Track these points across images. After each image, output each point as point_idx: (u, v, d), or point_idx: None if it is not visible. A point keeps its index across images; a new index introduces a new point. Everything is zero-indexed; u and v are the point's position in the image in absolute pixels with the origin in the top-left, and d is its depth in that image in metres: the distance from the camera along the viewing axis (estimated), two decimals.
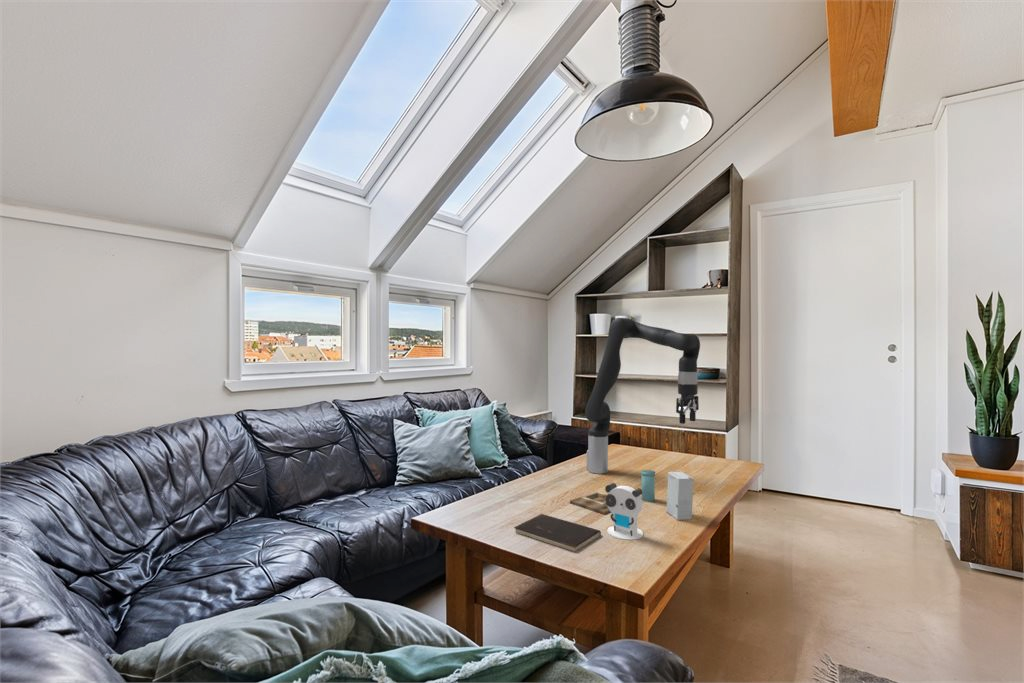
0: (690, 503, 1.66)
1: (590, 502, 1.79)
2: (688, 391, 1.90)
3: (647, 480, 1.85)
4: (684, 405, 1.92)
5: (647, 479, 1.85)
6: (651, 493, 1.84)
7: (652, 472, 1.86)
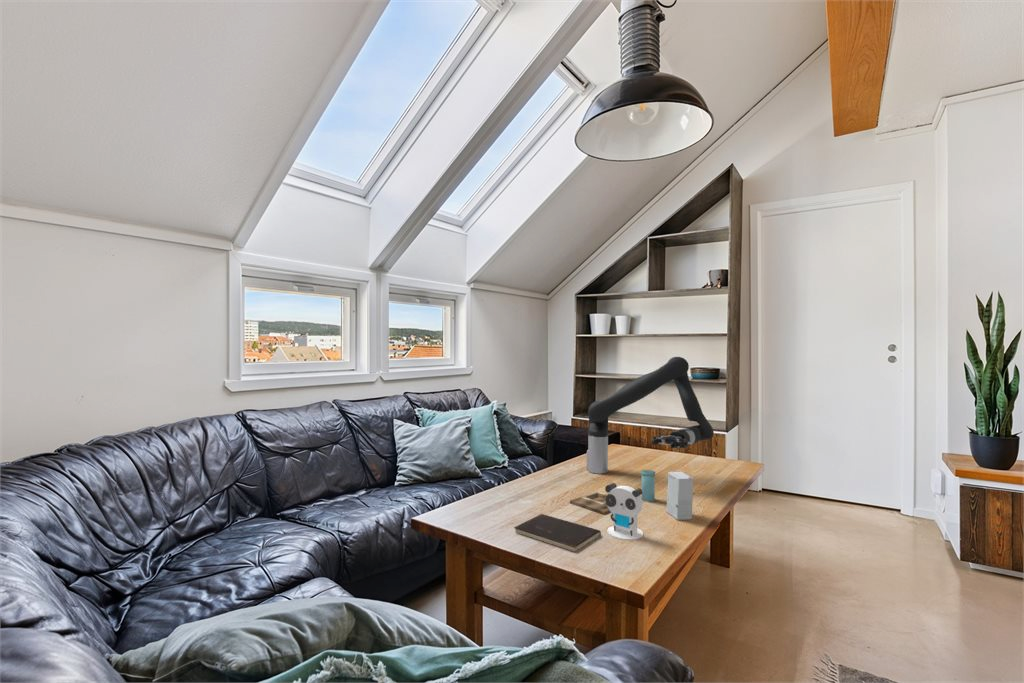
0: (690, 503, 1.66)
1: (590, 502, 1.79)
2: None
3: (647, 480, 1.85)
4: None
5: (647, 479, 1.85)
6: (651, 493, 1.84)
7: (652, 472, 1.86)
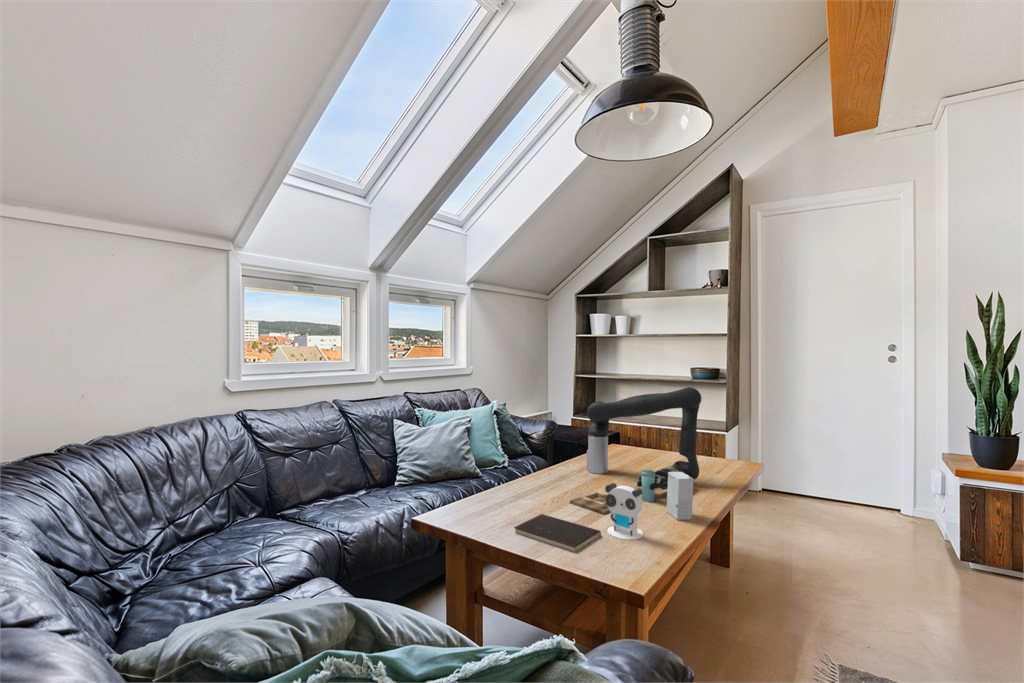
0: (690, 503, 1.66)
1: (590, 502, 1.79)
2: None
3: (647, 480, 1.85)
4: None
5: (647, 479, 1.85)
6: (651, 493, 1.84)
7: (652, 472, 1.86)
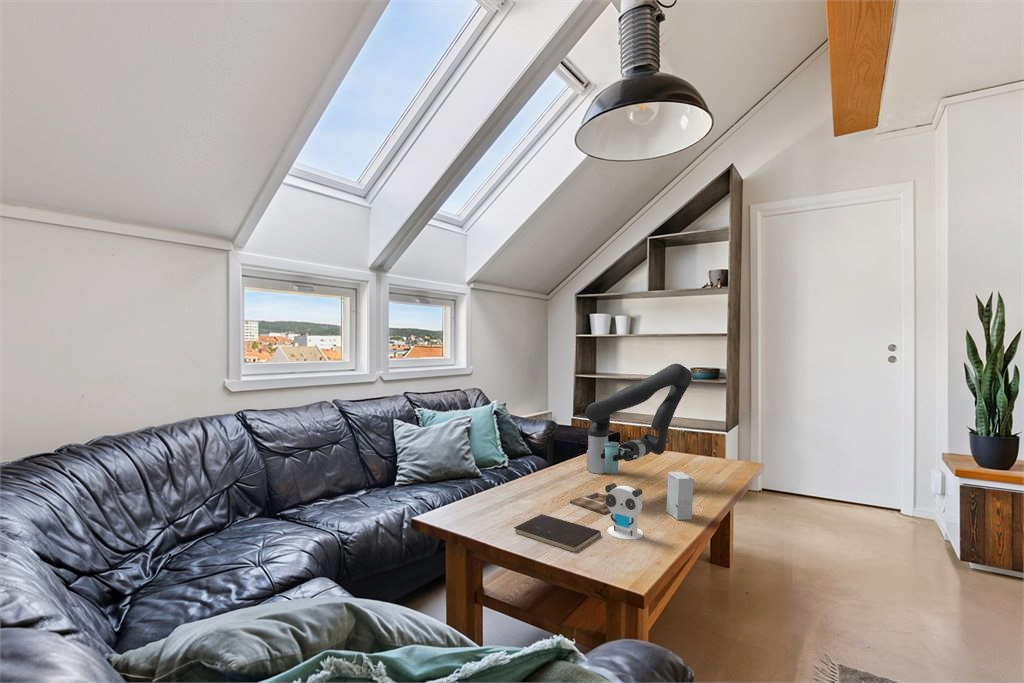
0: (690, 503, 1.66)
1: (590, 502, 1.79)
2: None
3: (610, 451, 1.81)
4: (623, 455, 1.85)
5: (610, 451, 1.81)
6: (614, 464, 1.80)
7: (615, 443, 1.82)
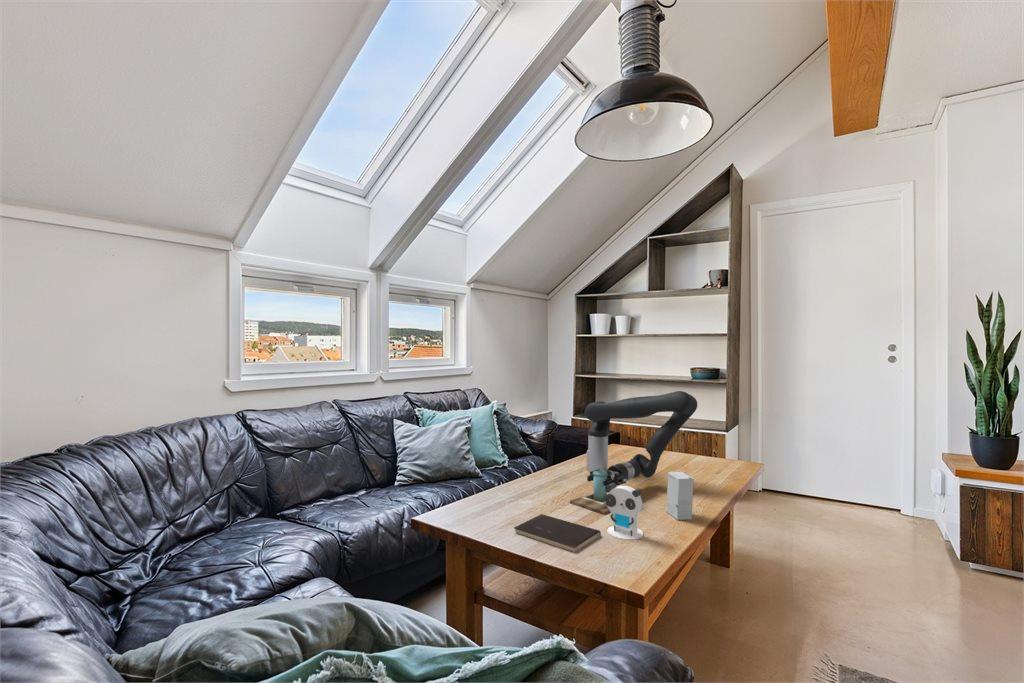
0: (690, 503, 1.66)
1: (590, 502, 1.79)
2: None
3: (598, 481, 1.80)
4: None
5: (598, 480, 1.80)
6: (602, 494, 1.80)
7: (604, 473, 1.81)
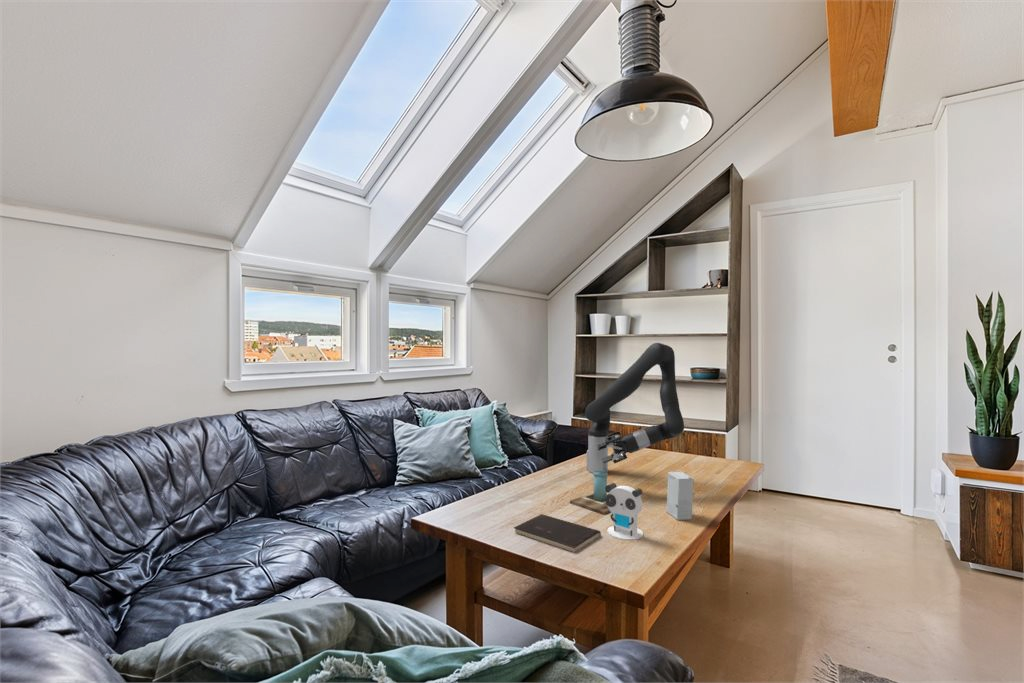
0: (690, 503, 1.66)
1: (590, 502, 1.79)
2: (629, 442, 1.93)
3: (598, 481, 1.80)
4: (614, 444, 1.95)
5: (598, 480, 1.80)
6: (602, 494, 1.80)
7: (604, 473, 1.81)
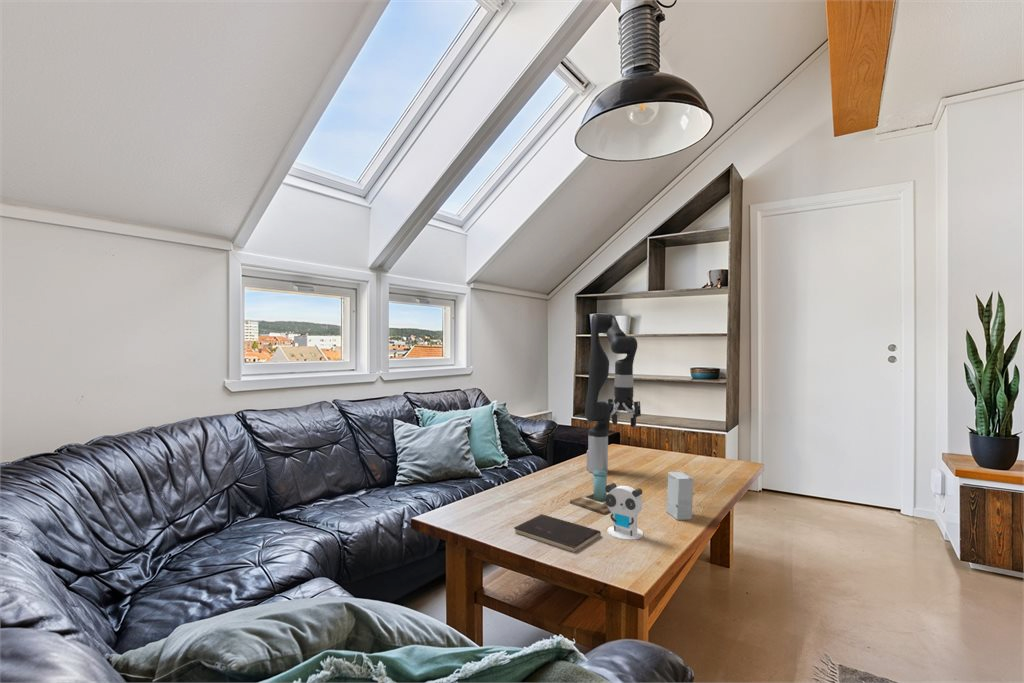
0: (690, 503, 1.66)
1: (590, 502, 1.79)
2: (614, 393, 1.94)
3: (598, 480, 1.80)
4: None
5: (598, 480, 1.80)
6: (602, 493, 1.80)
7: (604, 472, 1.81)
